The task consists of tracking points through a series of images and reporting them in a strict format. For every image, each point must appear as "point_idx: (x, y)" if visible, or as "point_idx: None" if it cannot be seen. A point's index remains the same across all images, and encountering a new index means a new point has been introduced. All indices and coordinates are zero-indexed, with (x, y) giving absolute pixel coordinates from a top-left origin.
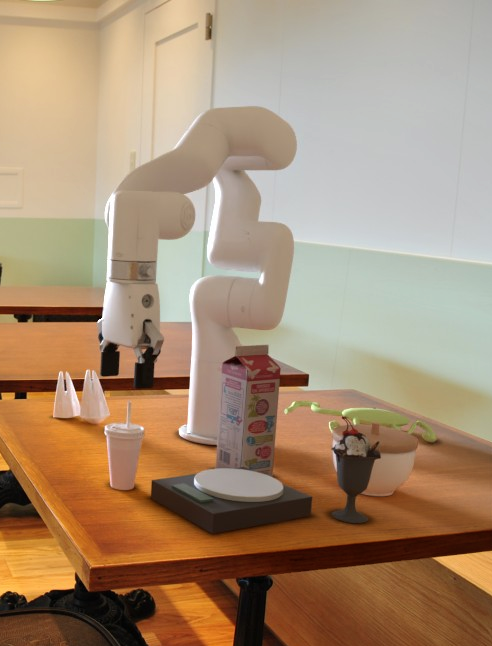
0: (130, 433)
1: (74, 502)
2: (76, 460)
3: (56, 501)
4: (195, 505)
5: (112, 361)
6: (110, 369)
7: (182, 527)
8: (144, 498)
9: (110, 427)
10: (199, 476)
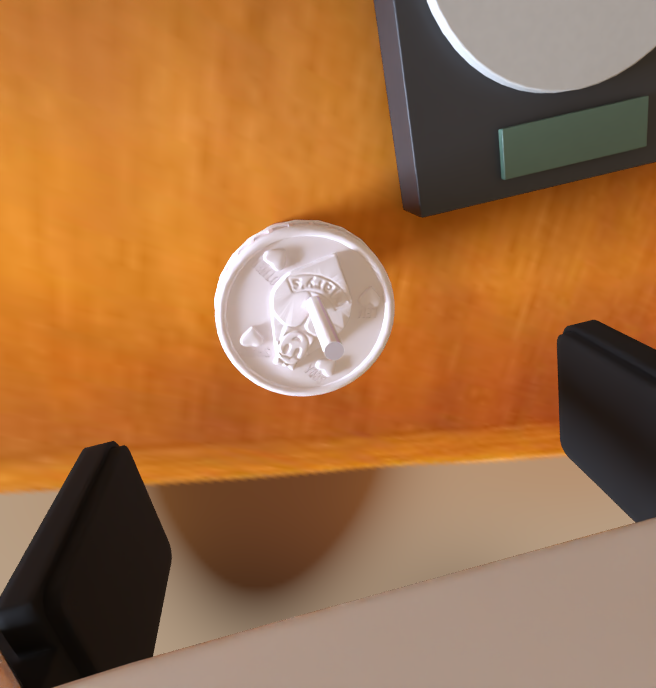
0: (393, 318)
1: (382, 412)
2: (7, 328)
3: (367, 449)
4: (636, 166)
5: (122, 584)
6: (142, 540)
7: (603, 205)
8: (395, 226)
9: (286, 372)
10: (485, 44)
